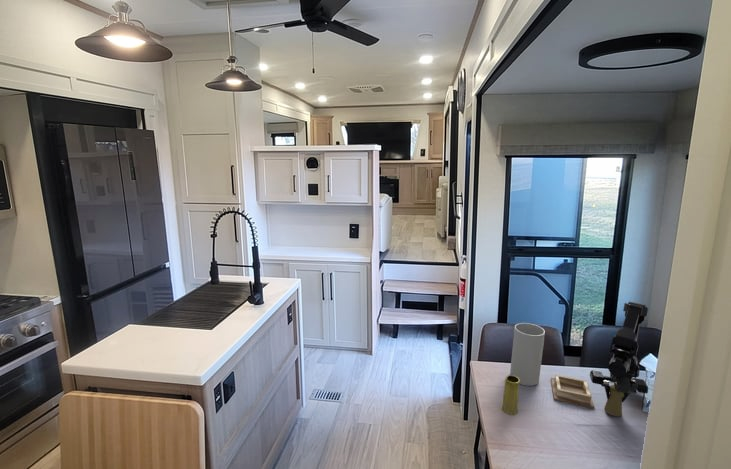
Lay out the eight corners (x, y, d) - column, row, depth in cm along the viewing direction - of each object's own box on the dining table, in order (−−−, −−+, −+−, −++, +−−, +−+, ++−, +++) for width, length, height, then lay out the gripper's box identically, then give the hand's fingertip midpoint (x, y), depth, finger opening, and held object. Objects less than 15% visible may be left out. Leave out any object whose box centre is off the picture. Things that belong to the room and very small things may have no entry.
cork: (624, 417, 149) (629, 392, 146) (607, 415, 150) (611, 390, 147) (617, 407, 154) (622, 383, 152) (601, 405, 156) (605, 381, 153)
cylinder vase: (509, 382, 172) (514, 332, 166) (510, 368, 183) (515, 321, 178) (539, 389, 167) (545, 337, 162) (538, 374, 178) (544, 325, 173)
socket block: (550, 379, 174) (551, 371, 174) (587, 386, 169) (588, 378, 168) (553, 399, 160) (554, 391, 159) (594, 408, 155) (595, 400, 154)
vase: (517, 407, 155) (521, 376, 152) (517, 416, 149) (520, 385, 146) (502, 403, 157) (505, 373, 154) (500, 412, 152) (503, 381, 149)
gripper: (597, 371, 144) (591, 406, 147) (656, 381, 137) (649, 419, 140) (592, 356, 154) (587, 390, 157) (646, 366, 147) (640, 401, 151)
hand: (614, 400), depth 151 cm, fingers closed on cork, 5 cm apart
